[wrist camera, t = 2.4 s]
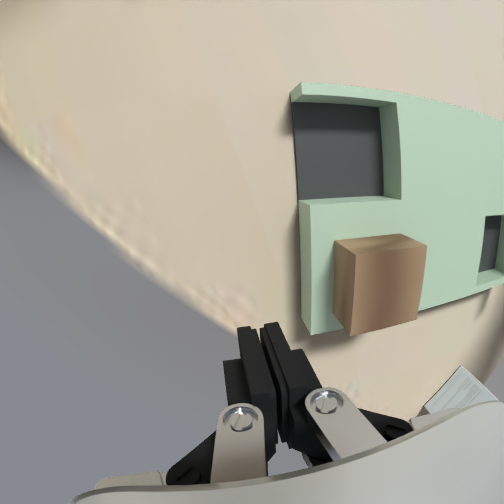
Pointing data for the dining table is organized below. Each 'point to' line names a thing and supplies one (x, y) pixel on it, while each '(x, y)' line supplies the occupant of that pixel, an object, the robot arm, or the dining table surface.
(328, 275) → the board
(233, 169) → the dining table surface
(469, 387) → the supplement box
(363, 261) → the walnut block
